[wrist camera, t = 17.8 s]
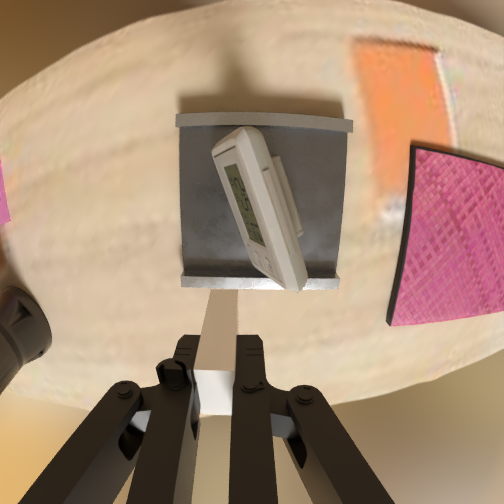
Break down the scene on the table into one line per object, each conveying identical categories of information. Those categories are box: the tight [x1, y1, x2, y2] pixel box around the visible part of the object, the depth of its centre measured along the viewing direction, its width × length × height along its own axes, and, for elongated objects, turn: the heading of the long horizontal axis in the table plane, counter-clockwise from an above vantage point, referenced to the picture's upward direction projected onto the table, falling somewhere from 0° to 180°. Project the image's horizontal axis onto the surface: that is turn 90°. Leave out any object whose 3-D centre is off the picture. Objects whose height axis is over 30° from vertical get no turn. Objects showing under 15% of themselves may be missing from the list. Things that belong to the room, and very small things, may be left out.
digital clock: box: [212, 126, 308, 292], centre depth 29 cm, size 16×9×11 cm, turn 8°
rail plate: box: [176, 112, 353, 289], centre depth 34 cm, size 20×21×3 cm
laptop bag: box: [386, 145, 504, 326], centre depth 36 cm, size 40×4×27 cm
